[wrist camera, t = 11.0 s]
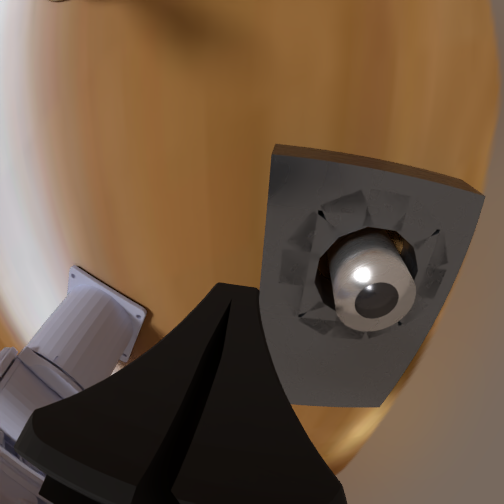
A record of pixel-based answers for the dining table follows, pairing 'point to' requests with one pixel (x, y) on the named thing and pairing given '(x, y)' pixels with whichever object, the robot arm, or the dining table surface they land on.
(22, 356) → the robot arm
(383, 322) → the bushing
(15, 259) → the dining table surface
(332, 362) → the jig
